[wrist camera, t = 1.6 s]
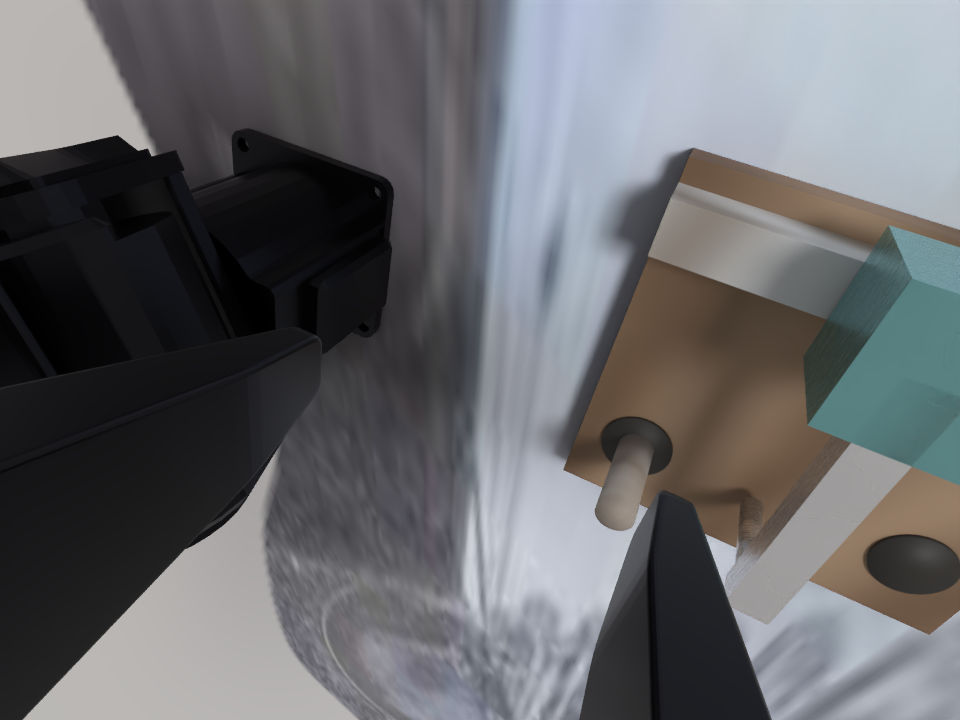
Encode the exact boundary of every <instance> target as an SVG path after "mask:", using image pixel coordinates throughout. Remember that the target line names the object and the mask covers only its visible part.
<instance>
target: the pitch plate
mask: <svg viewBox="0 0 960 720" xmlns="http://www.w3.org/2000/svg"><path fill="white" fill-rule="evenodd" d="M888 225H890V226H893V227H896V228H900V229H903V230H906V231H909V232H912V233H915V234H919V235H922V236H925V237H928V238H931V239H934V240H938V241H941V242H944V243H947V244H950V245H953V246H957V247H960V230H958V229H954V228H951V227H948V226H945V225H941V224H938V223H935V222H932V221H929V220H925V219H922V218H919V217H916V216H912V215H909V214H906V213H903V212H899V211H896V210H893V209H890V208H886V207H883V206H880V205H877V204H874V203H870V202H867V201H864V200H861V199H857V198H854V197H851V196H848V195H844V194H841V193H838V192H835V191H832V190H828V189H825V188H822V187H819V186H815V185H812V184H809V183H806V182H802V181H799V180H796V179H793V178H789V177H786V176H783V175H780V174H777V173H773V172H770V171H767V170H764V169H760V168H757V167H754V166H751V165H747V164H744V163H741V162H738V161H735V160H731V159H728V158H725V157H722V156H718V155H715V154H712V153H709V152H705V151H702V150H699V149H696V148H693V150H692V152H691V154H690V156H689V158H688V161H687V163H686V166H685V168H684V171H683V173H682V176H681V178H680V181H679V183H678V185H677V187H676V189H675V191H674V193H673V194H672V196H671V198H670V201H669V203H668V206H667V208H666V211H665V213H664V216H663V218H662V221H661V223H660V226H659V228H658V231H657V233H656V236H655V238H654V241H653V243H652V246H651V248H650V251H649V253H648V256H649V258H648V260H647V263H646V265H645V268H644V270H643V273H642V275H641V278H640V280H639V283H638V285H637V288H636V290H635V293H634V295H633V297H632V300H631V302H630V305H629V307H628V310H627V312H626V315H625V317H624V320H623V322H622V325H621V327H620V330H619V332H618V335H617V337H616V340H615V342H614V345H613V347H612V350H611V352H610V355H609V357H608V360H607V362H606V365H605V367H604V370H603V372H602V375H601V377H600V380H599V382H598V385H597V387H596V390H595V392H594V395H593V397H592V400H591V402H590V405H589V407H588V409H587V412H586V414H585V417H584V419H583V422H582V424H581V427H580V429H579V432H578V434H577V437H576V439H575V442H574V444H573V447H572V449H571V452H570V454H569V457H568V459H567V462H566V464H565V467H564V469H563V470H565V471H567V472H569V473H571V474H574V475H576V476H578V477H580V478H583V479H585V480H587V481H589V482H591V483H594V484H596V485H598V486H600V487H603V488H602V491H601V494H600V497H599V499H598V502H597V505H596V508H595V515H596V517H597V519H598V520H599V521H600V523H602V524H603V525H604V526H606V527H608V528H610V529H613V530H618V531H623V530H627V529H630V528H631V527H632V526H633V525H634V523H635V519H636V515H637V512H638V508H639V504H640V505H643V506H645V507H647V508H649V506H650V504H651V503H652V501H653V499H654V497H655V496H656V494H657V493H658V492H659V491H661V490H666V491H668V492H671V493H673V494H675V495H677V496H680V497H682V498H684V499H686V500H689V501H690V502H691V503H692V504H693V505H694V506H695V509H696V511H697V514H698V517H699V520H700V522H701V525H702V528H703V531H704V533H705V534H707V535H709V536H711V537H714V538H716V539H718V540H720V541H722V542H725V543H727V544H729V545H731V546H734V547H736V548H737V535H738V523H739V510H740V501H741V500H742V499H743V498H745V497H755V498H758V499H759V500H761V501H762V503H763V505H764V514H763V526H764V525H765V523H766V522H767V521H768V519H769V518H770V517H771V515H772V514H773V513H774V511H775V510H776V509H777V508H778V506H779V505H780V504H781V502H782V501H783V500H784V498H785V497H786V496H787V494H788V493H789V492H790V490H791V489H792V488H793V486H794V485H795V484H796V482H797V481H798V480H799V479H800V477H801V476H802V475H803V473H804V472H805V471H806V469H807V468H808V467H809V465H810V464H811V463H812V461H813V460H814V459H815V457H816V456H817V455H818V453H819V452H820V451H821V450H822V448H823V447H824V446H825V444H826V443H827V442H828V440H829V439H830V438H831V436H832V435H830V434H828V433H825V432H823V431H820V430H818V429H815V428H813V427H810V426H808V425H807V411H806V394H805V377H804V359H803V356H804V355H805V353H806V352H807V350H808V349H809V347H810V345H811V344H812V342H813V341H814V339H815V338H816V336H817V335H818V333H819V332H820V330H821V328H822V327H823V325H824V324H825V322H826V321H827V319H828V318H829V316H830V315H831V313H832V311H833V310H834V308H835V307H836V305H837V304H838V302H839V301H840V299H841V298H842V296H843V294H844V293H845V291H846V290H847V288H848V287H849V285H850V284H851V282H852V281H853V279H854V277H855V276H856V274H857V273H858V271H859V270H860V268H861V267H862V265H863V264H864V262H865V260H866V259H867V257H868V256H869V254H870V253H871V251H872V250H873V248H874V247H875V245H876V243H877V242H878V240H879V239H880V237H881V236H882V234H883V233H884V231H885V230H886V228H887V226H888ZM809 581H811V582H813V583H816V584H818V585H820V586H822V587H825V588H827V589H829V590H831V591H833V592H836V593H838V594H840V595H842V596H845V597H847V598H849V599H851V600H853V601H856V602H858V603H860V604H862V605H864V606H867V607H869V608H871V609H873V610H876V611H878V612H880V613H882V614H884V615H887V616H889V617H891V618H893V619H896V620H898V621H900V622H902V623H904V624H907V625H909V626H911V627H913V628H916V629H918V630H920V631H922V632H924V633H927V634H931V633H932V632H933V631H934V630H936V629H937V628H938V627H939V626H941V625H942V624H943V623H944V622H946V621H947V620H948V619H949V618H951V617H952V616H953V615H954V614H956V613H957V612H958V611H959V610H960V485H957V484H954V483H952V482H949V481H947V480H944V479H942V478H939V477H937V476H934V475H931V474H929V473H926V472H924V471H921V470H919V469H916V468H914V467H911V468H910V469H909V471H908V472H907V473H906V474H905V475H904V476H903V477H902V478H901V479H900V480H899V482H898V483H897V484H896V485H895V486H894V487H893V488H892V489H891V490H890V491H889V493H888V494H887V495H886V496H885V497H884V498H883V499H882V500H881V501H880V502H879V504H878V505H877V506H876V507H875V508H874V509H873V510H872V511H871V512H870V513H869V514H868V516H867V517H866V518H865V519H864V520H863V521H862V522H861V523H860V524H859V525H858V527H857V528H856V529H855V530H854V531H853V532H852V533H851V534H850V535H849V536H848V538H847V539H846V540H845V541H844V542H843V543H842V544H841V545H840V546H839V547H838V549H837V550H836V551H835V552H834V553H833V554H832V555H831V556H830V557H829V558H828V560H827V561H826V562H825V563H824V564H823V565H822V566H821V567H820V568H819V569H818V570H817V572H816V573H815V574H814V575H813V576H812V577H811V578H810V579H809Z"/></svg>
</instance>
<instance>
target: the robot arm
mask: <svg viewBox="0 0 960 720" xmlns="http://www.w3.org/2000/svg"><path fill="white" fill-rule="evenodd" d="M245 140H246V141H247V142H248V145H249V148H248V147H247V145H246V143H245ZM232 153H233V170H234V175H231V176H228V177H225V178H223V179H220V180H217V181H214V182H211V183H208V184H205V185H203V186H200V187H197V188H194V189H191V190H189V188H188V185H187V183H186V181H185V179H184V176H183V174H182V172H181V171H184V167H183V165H182V163H181V161H180V158H179V156H178V154H177V152H176V150H175V151H171V152H167V153H163V154H159V155H156V156H151V154H150V152H149V150H148V149H144V150H140V151H138V150H136V149H135V148H134V147H132V146H131V145H129V144H128V143H127V142H126V141H124V140H123V139H122V138H121V137H119V136H118V135H117V136H113V137H108V138H104V139H99V140H95V141H91V142H86V143H82V144H77V145H73V146H68V147H63V148H59V149H53V150H47V151H41V152H35V153H29V154H23V155H17V156H11V157H5V158H0V720H23V719H24V718H25V717H26V716H27V714H28V713H29V712H30V711H31V710H32V709H33V708H34V707H35V706H36V705H37V704H38V703H39V702H40V701H41V700H42V699H43V698H44V696H46V695H47V693H48V692H49V691H50V690H51V689H52V688H53V687H54V686H55V685H56V684H57V683H58V682H59V681H60V680H61V679H62V678H63V677H64V676H65V675H66V674H67V672H68V671H69V670H70V669H71V668H72V667H73V666H74V665H75V664H76V663H77V662H78V661H79V660H80V659H81V658H82V657H83V656H84V655H85V653H87V651H88V650H89V649H90V648H91V647H92V646H93V645H94V644H95V643H96V642H97V641H98V640H99V639H100V638H101V637H102V636H103V635H104V634H105V633H106V631H107V630H108V629H109V628H110V627H111V626H112V625H113V624H114V623H115V622H116V621H117V620H118V619H119V618H120V617H121V616H122V614H124V613H125V612H126V610H127V609H128V608H129V607H130V606H131V605H132V604H133V603H134V602H135V601H136V600H137V599H138V598H139V597H140V596H141V595H142V594H143V593H144V592H145V590H147V588H148V587H149V586H150V585H151V584H152V583H153V582H154V581H155V580H156V579H157V578H158V577H159V576H160V575H161V574H162V573H163V572H164V571H165V569H167V567H168V566H169V565H170V564H171V563H172V562H173V561H174V560H175V559H176V558H177V557H178V556H179V555H180V554H181V553H182V552H183V551H184V549H187V548H189V547H191V546H193V545H195V544H196V543H198V542H200V541H201V540H203V539H205V538H206V537H208V536H210V535H211V534H212V533H213V532H215V531H216V530H218V529H219V528H220V527H222V526H223V525H224V524H225V523H226V522H227V521H228V520H229V519H230V518H232V516H234V515H235V513H237V511H238V510H239V509H240V507H241V506H242V505H243V503H244V502H245V501H246V499H247V497H248V496H249V494H250V493H251V491H252V489H253V488H254V486H255V484H256V483H257V481H258V480H259V478H260V476H261V475H262V473H263V471H264V470H265V468H266V467H267V465H268V463H269V462H270V460H271V458H272V457H273V455H274V454H275V452H276V450H277V449H278V447H279V445H280V444H281V442H282V441H283V439H284V437H285V436H286V434H287V433H288V431H289V430H290V429H291V428H292V426H293V425H294V424H295V422H296V421H297V420H298V418H299V417H300V416H301V414H302V413H303V412H304V411H305V409H306V408H307V407H308V405H309V404H310V403H311V401H312V400H313V399H314V397H315V396H316V394H317V392H318V389H319V386H320V381H321V359H322V354H324V353H326V352H328V351H329V350H330V349H331V348H333V347H334V346H335V345H336V344H337V343H339V342H340V341H341V340H342V339H344V338H345V337H346V336H347V335H349V334H350V333H351V332H353V333H355V334H357V335H360V336H362V337H366V338H367V337H371V336H372V335H373V334H374V333H375V332H377V331H378V329H379V327H380V318H381V309H382V307H383V306H384V305H385V304H386V298H387V289H388V280H389V271H390V262H391V253H392V247H391V244H390V241H389V235H390V226H391V216H392V207H393V198H394V191H393V187H392V185H391V183H390V182H389V181H388V180H387V179H386V178H384V177H382V176H379V175H377V174H374V173H371V172H368V171H365V170H363V169H360V168H357V167H354V166H352V165H349V164H346V163H343V162H341V161H338V160H335V159H332V158H330V157H327V156H324V155H321V154H318V153H316V152H313V151H310V150H307V149H305V148H302V147H299V146H296V145H294V144H291V143H288V142H285V141H283V140H280V139H277V138H274V137H271V136H269V135H266V134H263V133H260V132H258V131H255V130H252V129H247V128H245V129H242V130H238V131H236V132H234V134H233V136H232ZM375 187H377V188H379V190H380V191H381V195H382V197H381V198H380V197H379V196H377V194H376V193H375ZM364 322H366V323H367V324H368V326H369V327H367V326H366V325H365V324H364ZM579 720H772V719H771V716H770V713H769V711H768V708H767V705H766V702H765V699H764V697H763V694H762V691H761V688H760V686H759V683H758V680H757V677H756V675H755V672H754V669H753V666H752V663H751V661H750V658H749V655H748V652H747V650H746V647H745V644H744V641H743V639H742V636H741V633H740V630H739V628H738V625H737V622H736V619H735V616H734V614H733V611H732V608H731V605H730V603H729V600H728V597H727V594H726V592H725V589H724V586H723V583H722V580H721V578H720V575H719V572H718V569H717V567H716V564H715V561H714V558H713V556H712V553H711V550H710V547H709V544H708V542H707V539H706V536H705V533H704V531H703V528H702V525H701V522H700V520H699V517H698V514H697V511H696V509H695V506H694V505H693V504H692V503H691V502H690V501H689V500H686V499H684V498H682V497H680V496H677V495H675V494H673V493H671V492H668V491H666V490H661V491H659V492H658V493H657V494H656V496H655V497H654V499H653V501H652V503H651V504H650V506H649V508H648V510H647V512H646V513H645V515H644V517H643V519H642V520H641V522H640V524H639V526H638V528H637V529H636V531H635V533H634V535H633V538H632V540H631V543H630V545H629V548H628V551H627V554H626V557H625V560H624V563H623V566H622V569H621V572H620V575H619V578H618V581H617V584H616V587H615V590H614V593H613V595H612V598H611V601H610V604H609V607H608V610H607V613H606V616H605V619H604V622H603V625H602V628H601V631H600V634H599V637H598V640H597V644H596V647H595V650H594V654H593V658H592V662H591V666H590V671H589V675H588V680H587V685H586V690H585V695H584V700H583V704H582V709H581V714H580V719H579Z"/></svg>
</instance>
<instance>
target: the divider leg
mask: <svg viewBox="0 0 960 720" xmlns="http://www.w3.org/2000/svg"><path fill="white" fill-rule="evenodd" d="M803 359H804V377H805V394H806V411H807V425H808V426H810V427H813V428H815V429H818V430H820V431H823V432H825V433H828V434H830V435H832V436H831V438H830V439H829V440H828V442H827V443H826V444H825V446H824V447H823V448H822V450H821V451H820V452H819V453H818V455H817V456H816V457H815V459H814V460H813V461H812V463H811V464H810V465H809V467H808V468H807V469H806V471H805V472H804V473H803V475H802V476H801V477H800V479H799V480H798V481H797V482H796V484H795V485H794V486H793V488H792V489H791V490H790V492H789V493H788V494H787V496H786V497H785V498H784V500H783V501H782V502H781V504H780V505H779V506H778V508H777V509H776V510H775V511H774V513H773V514H772V515H771V517H770V518H769V519H768V521H767V522H766V523H765V525H764V526H763V514H764V505H763V503H762V501H761V500H759V499H758V498H755V497H745V498H743V499H742V500H741V501H740V510H739V523H738V535H737V548H736V561H735V564H734V565H733V567H732V568H731V569H730V571H729V572H728V573H727V575H726V582H725V592H726V594H727V597H728V600H729V603H730V605H731V607H732V608H734V609H736V610H738V611H740V612H742V613H744V614H746V615H748V616H751V617H753V618H755V619H757V620H759V621H761V622H763V623H765V624H767V625H768V624H769V623H770V622H771V621H772V620H773V619H774V618H775V617H776V616H777V614H778V613H779V612H780V611H781V610H782V609H783V608H784V607H785V606H786V605H787V603H788V602H789V601H790V600H791V599H792V598H793V597H794V596H795V595H796V594H797V592H798V591H799V590H800V589H801V588H802V587H803V586H804V585H805V584H806V583H807V581H808V580H809V579H810V578H811V577H812V576H813V575H814V574H815V573H816V572H817V570H818V569H819V568H820V567H821V566H822V565H823V564H824V563H825V562H826V561H827V560H828V558H829V557H830V556H831V555H832V554H833V553H834V552H835V551H836V550H837V549H838V547H839V546H840V545H841V544H842V543H843V542H844V541H845V540H846V539H847V538H848V536H849V535H850V534H851V533H852V532H853V531H854V530H855V529H856V528H857V527H858V525H859V524H860V523H861V522H862V521H863V520H864V519H865V518H866V517H867V516H868V514H869V513H870V512H871V511H872V510H873V509H874V508H875V507H876V506H877V505H878V504H879V502H880V501H881V500H882V499H883V498H884V497H885V496H886V495H887V494H888V493H889V491H890V490H891V489H892V488H893V487H894V486H895V485H896V484H897V483H898V482H899V480H900V479H901V478H902V477H903V476H904V475H905V474H906V473H907V472H908V471H909V469H910V468H911V467H914V468H916V469H919V470H921V471H924V472H926V473H929V474H931V475H934V476H937V477H939V478H942V479H944V480H947V481H949V482H952V483H954V484H957V485H960V247H957V246H953V245H950V244H947V243H944V242H941V241H938V240H934V239H931V238H928V237H925V236H922V235H919V234H915V233H912V232H909V231H906V230H903V229H900V228H896V227H893V226H890V225H888V226H887V228H886V230H885V231H884V233H883V234H882V236H881V237H880V239H879V240H878V242H877V243H876V245H875V247H874V248H873V250H872V251H871V253H870V254H869V256H868V257H867V259H866V260H865V262H864V264H863V265H862V267H861V268H860V270H859V271H858V273H857V274H856V276H855V277H854V279H853V281H852V282H851V284H850V285H849V287H848V288H847V290H846V291H845V293H844V294H843V296H842V298H841V299H840V301H839V302H838V304H837V305H836V307H835V308H834V310H833V311H832V313H831V315H830V316H829V318H828V319H827V321H826V322H825V324H824V325H823V327H822V328H821V330H820V332H819V333H818V335H817V336H816V338H815V339H814V341H813V342H812V344H811V345H810V347H809V349H808V350H807V352H806V353H805V355H804V356H803Z"/></svg>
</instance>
